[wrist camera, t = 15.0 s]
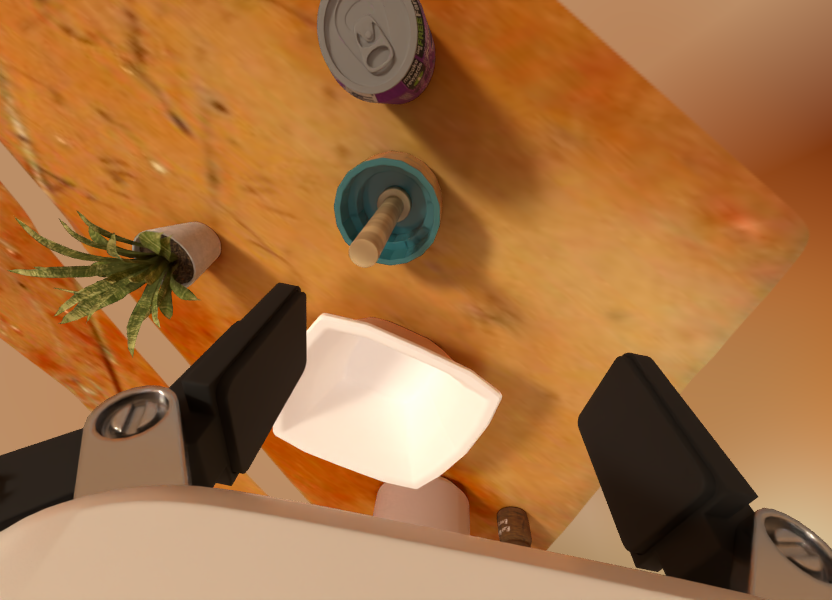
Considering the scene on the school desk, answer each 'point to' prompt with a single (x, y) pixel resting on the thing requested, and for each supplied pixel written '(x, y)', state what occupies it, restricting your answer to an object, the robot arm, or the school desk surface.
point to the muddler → (380, 226)
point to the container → (425, 505)
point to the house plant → (134, 269)
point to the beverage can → (377, 48)
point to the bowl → (384, 402)
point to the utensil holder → (514, 526)
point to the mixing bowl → (362, 195)
